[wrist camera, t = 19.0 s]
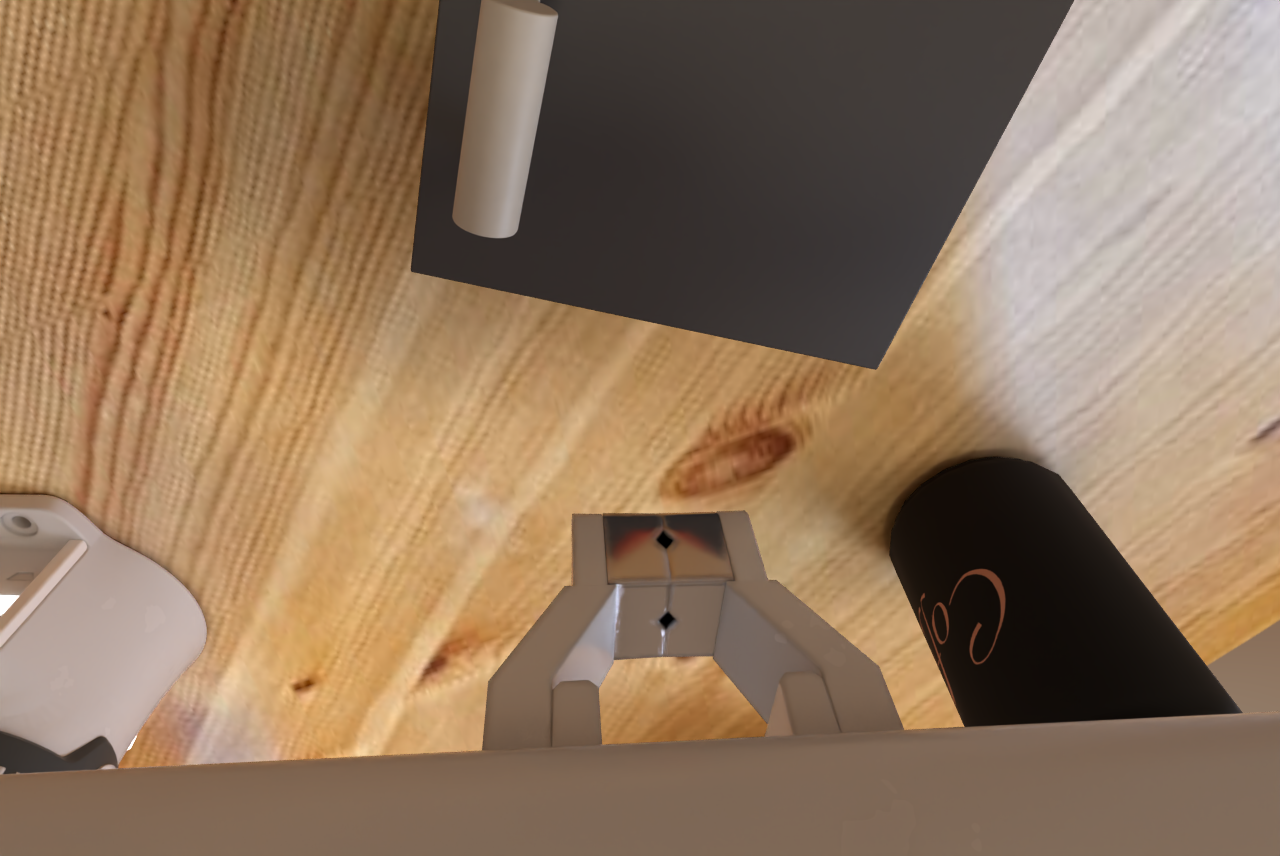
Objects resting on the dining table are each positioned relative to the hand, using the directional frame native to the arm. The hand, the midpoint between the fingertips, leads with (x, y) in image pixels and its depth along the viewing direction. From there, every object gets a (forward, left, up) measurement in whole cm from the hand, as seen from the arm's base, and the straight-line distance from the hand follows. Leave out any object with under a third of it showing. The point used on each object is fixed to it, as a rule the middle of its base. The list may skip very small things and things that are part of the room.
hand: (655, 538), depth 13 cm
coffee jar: (+26, -16, -23) cm, 38 cm away
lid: (+2, +4, -13) cm, 13 cm away
